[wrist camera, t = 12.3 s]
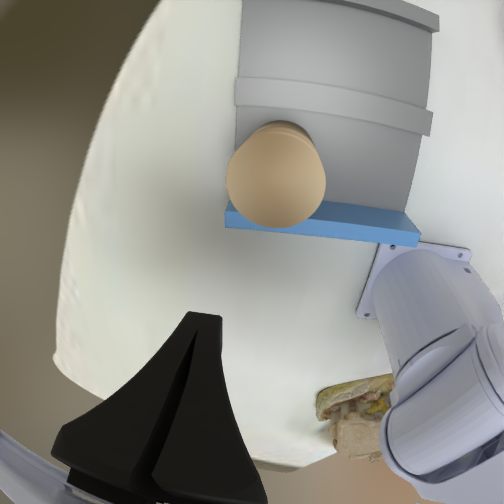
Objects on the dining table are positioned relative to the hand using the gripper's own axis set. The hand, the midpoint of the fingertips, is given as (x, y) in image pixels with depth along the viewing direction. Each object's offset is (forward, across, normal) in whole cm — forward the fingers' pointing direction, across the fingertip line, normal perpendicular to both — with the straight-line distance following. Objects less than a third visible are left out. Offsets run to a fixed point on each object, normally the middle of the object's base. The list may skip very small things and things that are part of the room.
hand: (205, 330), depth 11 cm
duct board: (+10, -5, -9) cm, 15 cm away
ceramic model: (+10, -18, +24) cm, 32 cm away
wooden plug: (+9, -2, -5) cm, 11 cm away
